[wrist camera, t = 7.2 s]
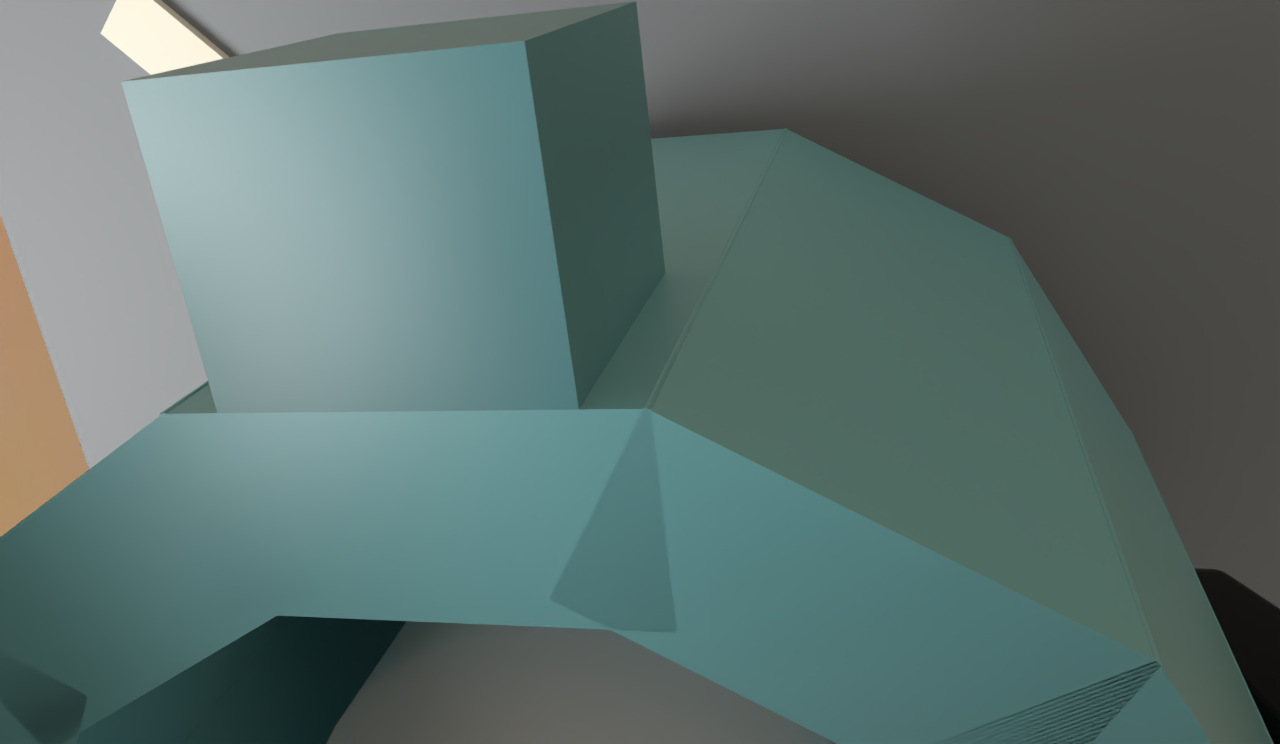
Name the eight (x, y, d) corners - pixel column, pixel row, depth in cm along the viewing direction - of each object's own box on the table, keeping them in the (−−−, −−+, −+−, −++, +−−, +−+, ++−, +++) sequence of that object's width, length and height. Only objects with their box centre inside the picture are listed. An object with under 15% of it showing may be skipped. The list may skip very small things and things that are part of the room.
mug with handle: (1101, 851, 10) (1269, 1615, 6) (422, 793, 12) (129, 1341, 7) (1168, -85, 7) (1671, -75, 2) (230, 20, 9) (-487, 142, 4)
